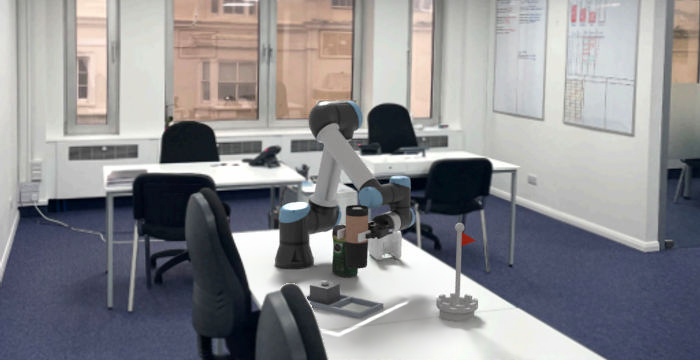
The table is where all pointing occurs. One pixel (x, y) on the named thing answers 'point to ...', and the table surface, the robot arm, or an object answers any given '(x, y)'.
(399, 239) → the cable organizer
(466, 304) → the flag stand
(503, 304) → the table surface
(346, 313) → the dock
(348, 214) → the travel mug
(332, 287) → the seated block
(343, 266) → the coffee jar
